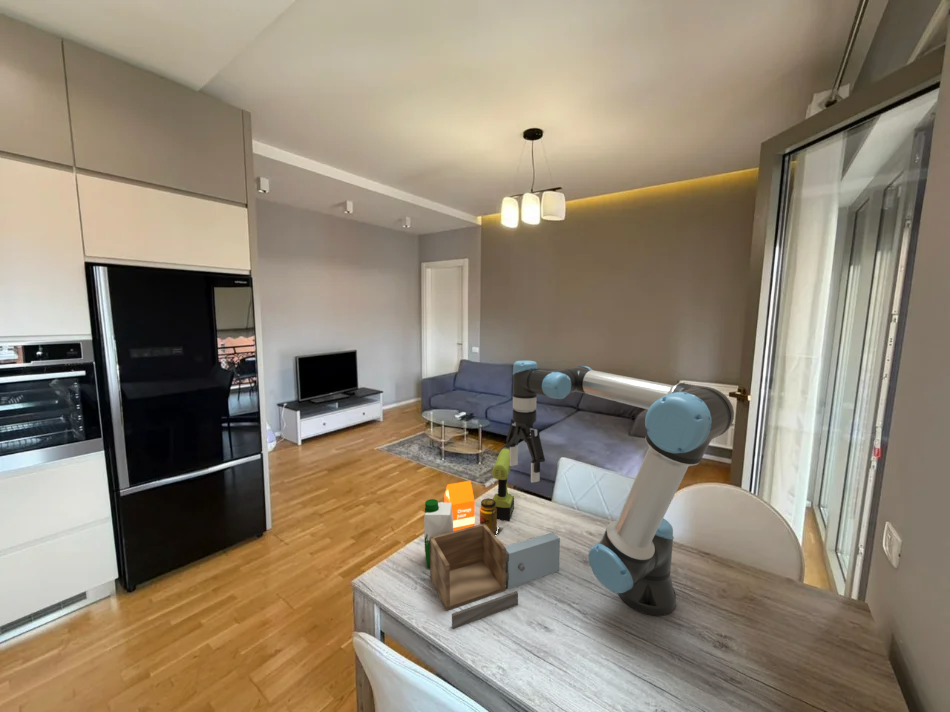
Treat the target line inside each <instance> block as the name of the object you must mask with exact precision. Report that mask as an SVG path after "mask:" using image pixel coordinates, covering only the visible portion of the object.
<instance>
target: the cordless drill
mask: <svg viewBox="0 0 950 712" xmlns="http://www.w3.org/2000/svg"><path fill="white" fill-rule="evenodd" d="M511 469H512V466H510V446H509V443H506V444H505V445H504V446H503V447H502V448H501V450H500V451H499V454H498V455H497V458H496V461H495V462H494V465H493V468H492V471H491V476H492V477H493V478H494V479H495V480H498V482H497V483H498V484H497V493H494V495H493V497H492V499H493V500H494V501H495V502H496V504H495V505H496V509H497V519H500V520H499V521H504V520H505V521H506V522H510V521H511V519H512V515H513V514H514V513H513V512H514V510H515V496H514V495H512V494H511V493H509V492H508V479H509V474H510V472H511Z"/></svg>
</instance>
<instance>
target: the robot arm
mask: <svg viewBox="0 0 950 712" xmlns="http://www.w3.org/2000/svg"><path fill="white" fill-rule="evenodd" d="M575 392H576V393H581V394H585V395H590V396H593V397H598V398H602V399H605V400H609V401H614V402H617V403H621V404H625V405H629V406H632V407H637V408H641V409H644V410H647V412H646V413H645V419H644V420H645V421H644V425H645V429H646V431H647V432H646V435H645V438H644V439H645V442H646V444H647V447H648V449H647V451H646V454H645V456H644V458H643V461H642V463H641V465H640V467H639V469H638V472H637V474H636V477H635V478H634V481H633V483H632V486H631V488H630V490H629V493H628V495H627V497H626V499H625V502H624V504H623V506H622V509H621V511H620V513H619V516H618V518H617V519H616V520H613V521H611V522H609V524H608V525H607V527H606V529H605V531H604V534H603V535H602V538H601V540H599V542H597V543H595V544H593V546H592V547H590V549H589V552H588V562H589V566H590V567H591V571H592V574H594V576H595V578H596V579H597V580H598V582H599V583H600V584H601V585H602V586H604V587H605V588H606V589H607V590H609V591H611V592H613V593H616V594H618V596H619V597H620V599H621V600H622V601H623V602H624V603H625V604H626V605H627V606H628V607H630V608H632V609H634V610H635V611H637V612H640V613H642V614H645V615H649V616H655V617H656V616H657V617H658V616H659V617H660V616H666V615H670V614H671V613H672V612H673V611H674V610H675V608H676V606H677V605H676V603H677V594H676V590H675V588H674V585H673V581H672V576H671V568H672V554H673V545H674V544H673V542H674V539H675V538H674V528H673V526H672V524H671V523H670V522H669V521H668V520H667V519H666V518H664V517H665V515H666V513H667V511H668V509H669V507H670V504H672V501H673V499H674V497H675V495H676V493H677V491H678V489H679V487H680V484H681V483H682V481H683V479H684V477H685V475H686V473H687V470H688V468H689V467H692V466H697V465H699V464H700V463H701V461H702V459H703V457H704V455H705V453H706V451H707V449H708V447H709V445H710V443H711V442H712V441H713V440H714V439H716V438H718V437H720V436H722V435H724V434H725V433H726V432H728V430H729V429H730V428H731V426H732V425H733V422H734V420H735V419H734V418H735V412H734V406H733V404H732V401H731V400H730V399H729V398H728V397H727V395H725V394H724V393H723V392H721V391H720V390H719V389H716V388H713V387H710V386H704V385H695V384H691V383H685V382H678V383H676V384H675V385H673V384H668V383H662V382H657V381H653V380H652V381H651V380H647V379H641V378H636V377H630V376H625V375H621V374H614V373H609V372H605V371H599V370H593V369H592V368H591V367H589V366H586V365H583V366H581V365H578V366H573V367H568V368H562V369H561V368H559V369H555V370H554V369H553V370H545V369H539V368H538V363H537V362H536V361H534V360H516V361H515V362H514V363H513V367H512V409H513V410H512V418H511V419H510V426H509V429H508V431H507V432H508V433H507V436H506V440H505V442H506V444H508V443H509V446H510V466H511V467H514V466H515V467H516V466H519V462H518V461H519V457H518V456H519V446H518V445H519V442H520V440H521V438H522V439H523V441H524V442H525V443H526V445H527V448H528V451H529V455H530V456H531V461H530V482H531V484H532V483H537V482H540V480H541V479H540V475H541V474H540V473H541V463H544V462H545V461H546V459H545V455H544V450H543V446H542V442H541V441H542V440H541V437H540V429H539V428H534V423H536V422H537V410H536V409H537V399H538V398H537V396H538V395H539V396H543V397H547V398H549V399H550V398H551V399H552V400H553V399H557V400H558V399H559V400H562V399H563V400H564V399H565V398H566V397H567V396H568V395H570V393H575Z"/></svg>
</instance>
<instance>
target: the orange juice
mask: <svg viewBox="0 0 950 712" xmlns="http://www.w3.org/2000/svg"><path fill="white" fill-rule="evenodd" d="M443 496H444V497H443V498H444V500H443V502H444V503H451V504H452V513H453V531H456V530H460V529H464V528H468V527H471V526H475V525H476V524H475V523H476V519H475V518H476V514H475V502H476V501H475V497H474V490H473V486H472V481H471V480H467V481H460V482H454V483H448V484H447V485H446V488H445V492H444V495H443Z"/></svg>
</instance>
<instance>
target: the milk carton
mask: <svg viewBox="0 0 950 712" xmlns="http://www.w3.org/2000/svg"><path fill="white" fill-rule="evenodd" d="M424 505H425V506H424V516H423V517H424V521H423V524H424V526H423V527H424V553H425V554H424V555H425V563H426V569H430V537H433V536H437V535H440V534H444V533H448V532H452V531H453V513H452V504H451V503H444V501H440V502H439V501H438V500H437V499H435V498H434V499H433V498H430V499H427V500H426V501H425V504H424Z"/></svg>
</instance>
